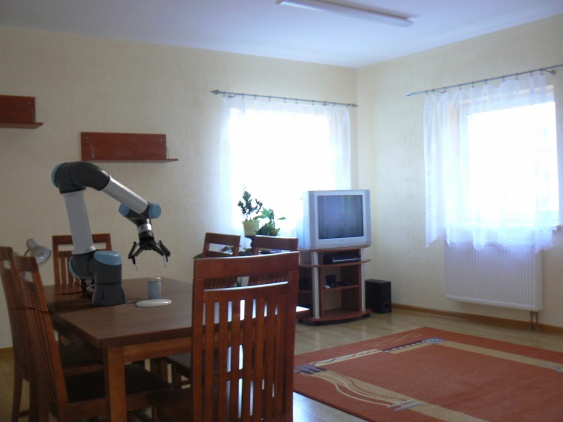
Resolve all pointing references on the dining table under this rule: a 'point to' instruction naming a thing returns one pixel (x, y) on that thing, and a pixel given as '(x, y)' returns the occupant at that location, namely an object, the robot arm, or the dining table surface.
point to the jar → (154, 288)
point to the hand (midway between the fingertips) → (151, 267)
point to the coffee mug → (85, 283)
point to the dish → (91, 290)
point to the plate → (153, 303)
